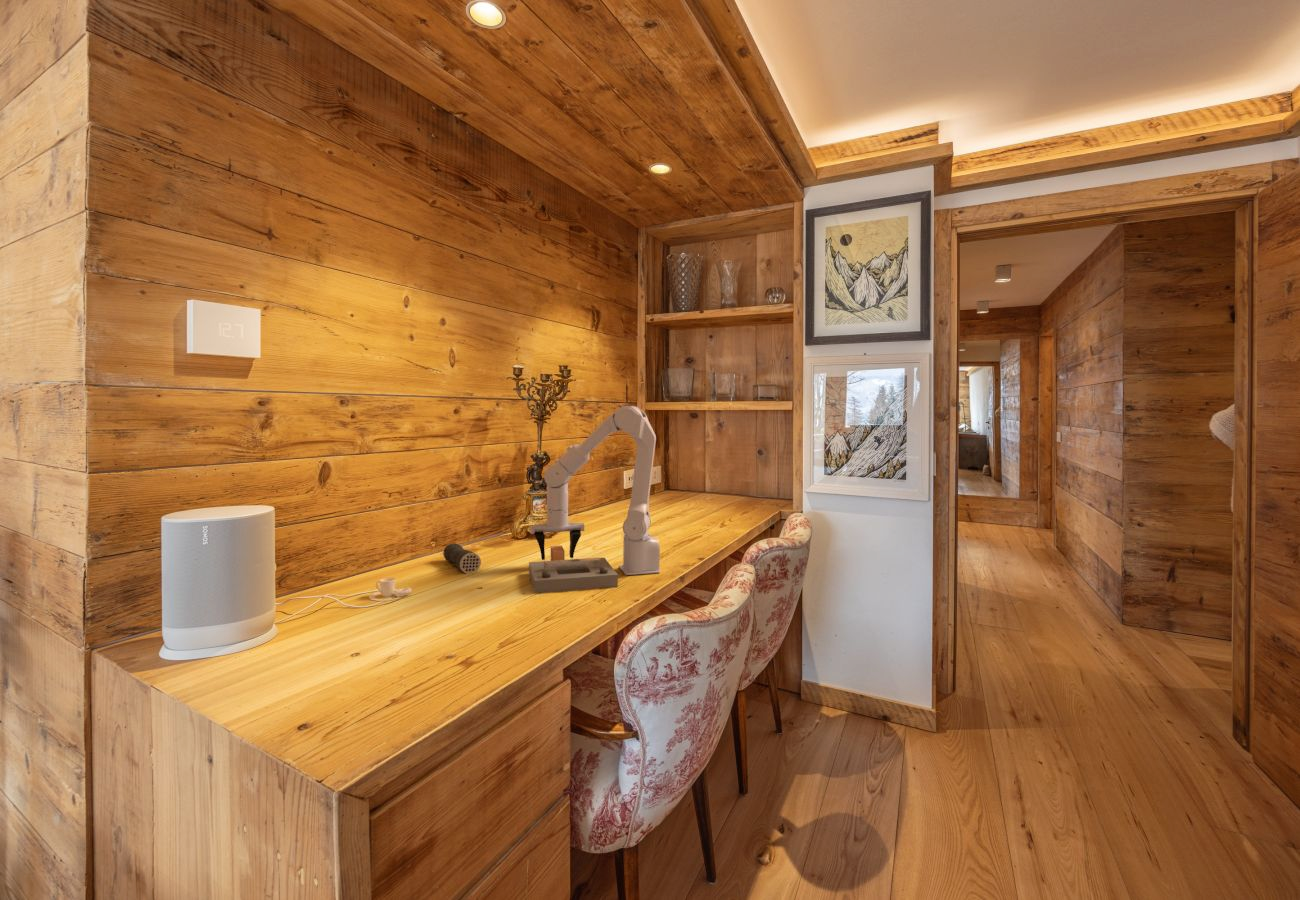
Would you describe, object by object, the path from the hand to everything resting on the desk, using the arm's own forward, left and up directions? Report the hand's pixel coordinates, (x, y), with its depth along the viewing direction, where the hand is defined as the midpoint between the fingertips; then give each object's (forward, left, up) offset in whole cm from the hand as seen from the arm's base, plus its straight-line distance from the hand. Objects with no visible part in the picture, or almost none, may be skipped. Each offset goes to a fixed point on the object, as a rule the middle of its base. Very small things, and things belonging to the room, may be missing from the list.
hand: (557, 558), depth 155 cm
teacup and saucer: (+40, +17, -3) cm, 43 cm away
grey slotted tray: (-2, +13, -2) cm, 13 cm away
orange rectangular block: (0, 0, -2) cm, 2 cm away
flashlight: (+25, -6, -3) cm, 26 cm away
